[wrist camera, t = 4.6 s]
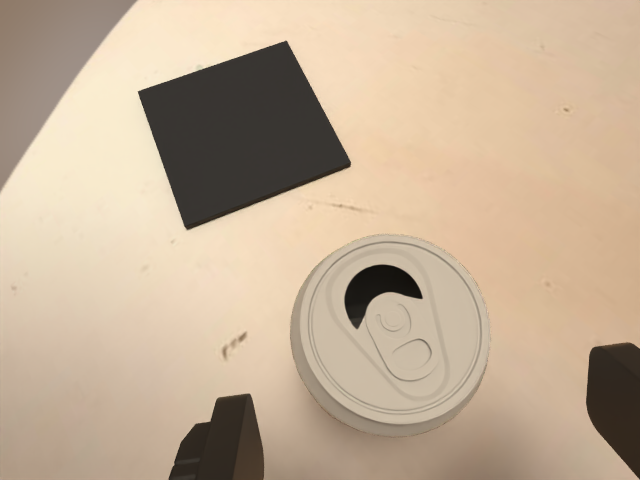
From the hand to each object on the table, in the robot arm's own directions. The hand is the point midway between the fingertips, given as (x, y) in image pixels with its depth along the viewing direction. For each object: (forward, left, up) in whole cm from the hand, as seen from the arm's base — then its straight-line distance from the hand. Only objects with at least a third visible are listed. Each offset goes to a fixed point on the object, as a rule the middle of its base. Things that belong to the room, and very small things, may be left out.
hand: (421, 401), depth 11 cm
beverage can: (+1, +2, -14) cm, 14 cm away
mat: (0, +19, -14) cm, 24 cm away
